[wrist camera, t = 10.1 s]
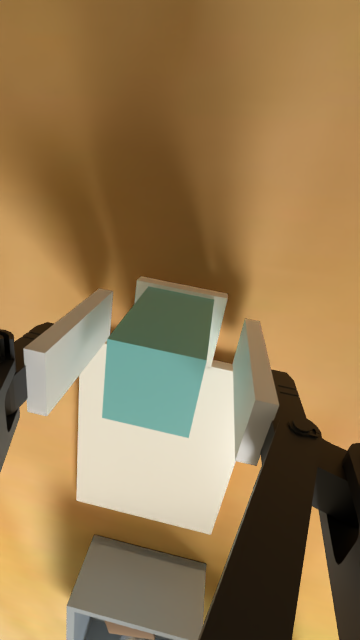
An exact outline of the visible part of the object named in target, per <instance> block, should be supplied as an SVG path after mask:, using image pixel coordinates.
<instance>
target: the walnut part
mask: <svg viewBox="0 0 360 640" xmlns="http://www.w3.org/2000/svg"><path fill="white" fill-rule="evenodd" d="M104 621H105V620H104ZM105 624H106V626H107V629H108V632H109V633H111V634H118V635H125V636H131V637H138V638H145V639H151V640H155V634H151V633H148V632H144V631H140V630H137V629H133V628H130V627H126V626H123V625H119V624H115V623H112V622H108V621H105Z"/></svg>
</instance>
